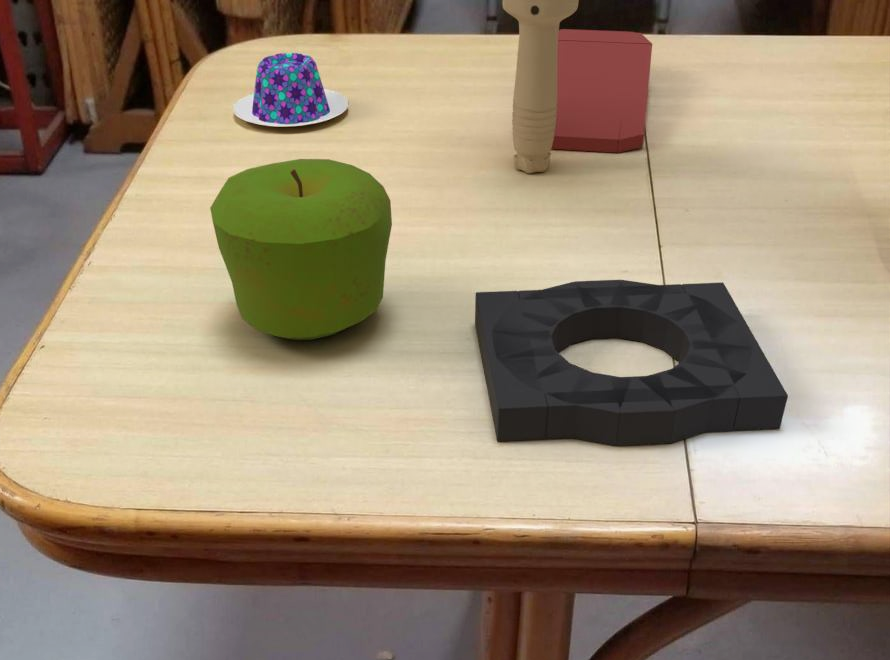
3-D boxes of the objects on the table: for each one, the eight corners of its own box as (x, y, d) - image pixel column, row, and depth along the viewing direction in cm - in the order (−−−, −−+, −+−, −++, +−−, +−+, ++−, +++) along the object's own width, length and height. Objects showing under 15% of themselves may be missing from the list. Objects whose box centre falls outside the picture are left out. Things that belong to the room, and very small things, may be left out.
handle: (503, 155, 102) (509, -18, 92) (570, 161, 101) (583, -13, 91) (492, 174, 99) (497, -3, 89) (561, 181, 98) (573, 2, 88)
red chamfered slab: (637, 187, 105) (648, 67, 121) (643, 140, 101) (654, 22, 117) (514, 180, 107) (541, 62, 122) (516, 134, 103) (543, 18, 119)
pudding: (333, 136, 107) (329, 82, 103) (218, 130, 108) (210, 76, 105) (360, 96, 115) (357, 44, 112) (253, 91, 117) (247, 40, 114)
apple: (334, 381, 72) (321, 221, 65) (192, 337, 77) (164, 184, 70) (424, 302, 81) (422, 152, 73) (291, 267, 85) (276, 123, 78)
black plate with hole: (713, 306, 80) (719, 275, 78) (785, 438, 67) (794, 404, 65) (473, 316, 79) (474, 284, 77) (499, 451, 66) (500, 418, 64)
